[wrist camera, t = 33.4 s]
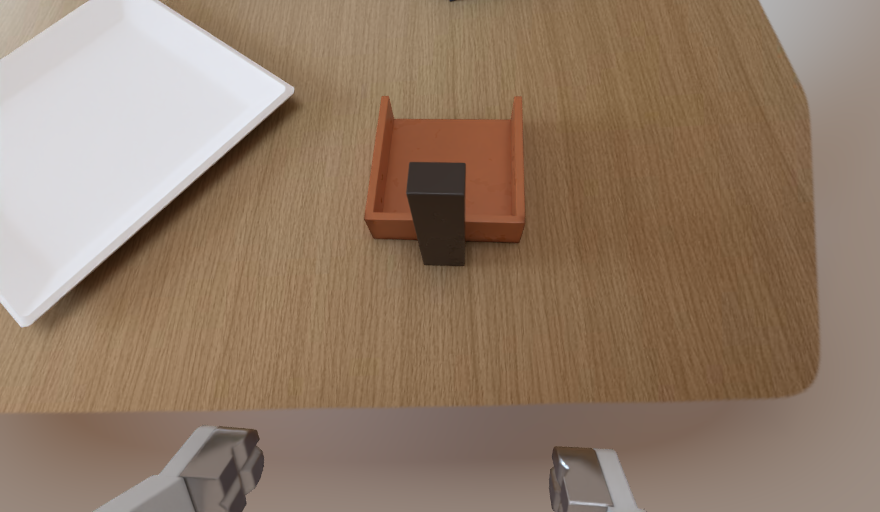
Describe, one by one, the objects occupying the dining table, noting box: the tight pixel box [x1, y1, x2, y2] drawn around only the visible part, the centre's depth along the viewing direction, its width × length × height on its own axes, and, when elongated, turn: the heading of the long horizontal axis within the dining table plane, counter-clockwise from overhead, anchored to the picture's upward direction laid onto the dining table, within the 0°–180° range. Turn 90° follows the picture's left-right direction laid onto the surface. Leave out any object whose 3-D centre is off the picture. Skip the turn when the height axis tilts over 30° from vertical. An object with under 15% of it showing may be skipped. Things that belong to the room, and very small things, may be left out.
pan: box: [364, 96, 525, 266], centre depth 28 cm, size 13×11×10 cm
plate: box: [0, 0, 294, 327], centre depth 35 cm, size 26×26×2 cm
